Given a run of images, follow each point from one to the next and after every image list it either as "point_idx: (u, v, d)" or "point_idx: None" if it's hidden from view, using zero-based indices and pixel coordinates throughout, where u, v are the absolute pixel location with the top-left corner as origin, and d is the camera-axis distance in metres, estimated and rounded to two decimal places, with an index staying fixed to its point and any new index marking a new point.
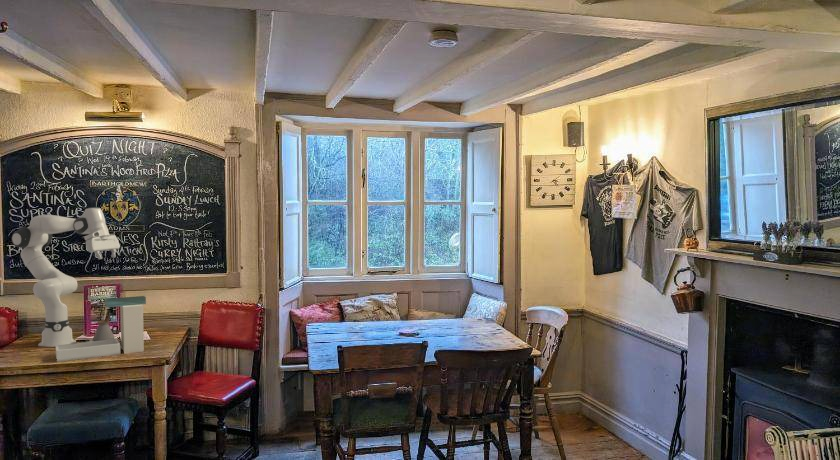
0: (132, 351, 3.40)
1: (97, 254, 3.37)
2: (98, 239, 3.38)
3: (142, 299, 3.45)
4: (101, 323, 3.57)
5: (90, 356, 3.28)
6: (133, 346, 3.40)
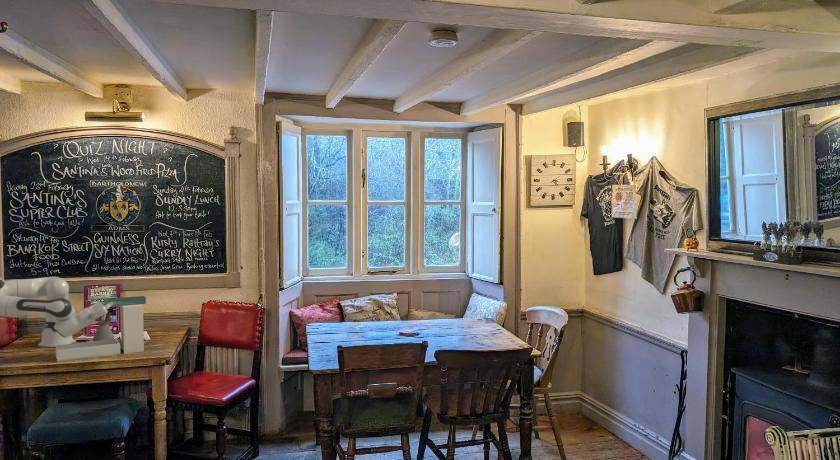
0: (132, 351, 3.40)
1: None
2: None
3: (142, 299, 3.45)
4: (101, 323, 3.58)
5: (90, 356, 3.28)
6: (133, 346, 3.40)
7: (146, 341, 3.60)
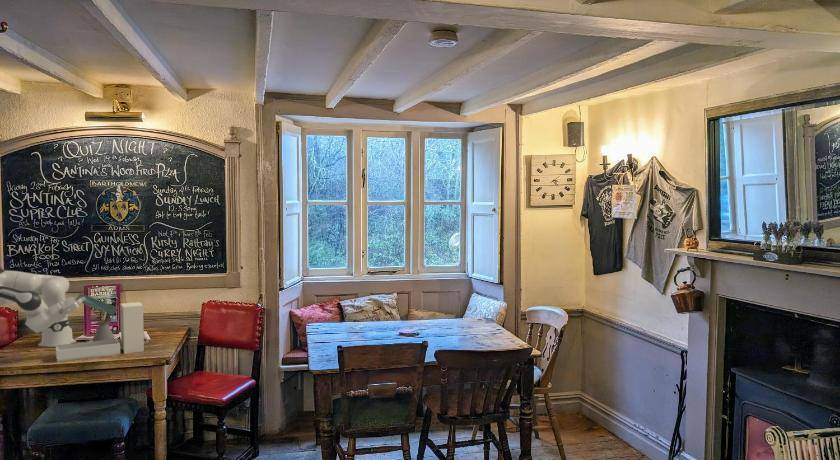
0: (132, 351, 3.40)
1: None
2: None
3: (113, 309, 3.37)
4: (101, 323, 3.58)
5: (90, 356, 3.28)
6: (133, 346, 3.40)
7: (147, 341, 3.60)
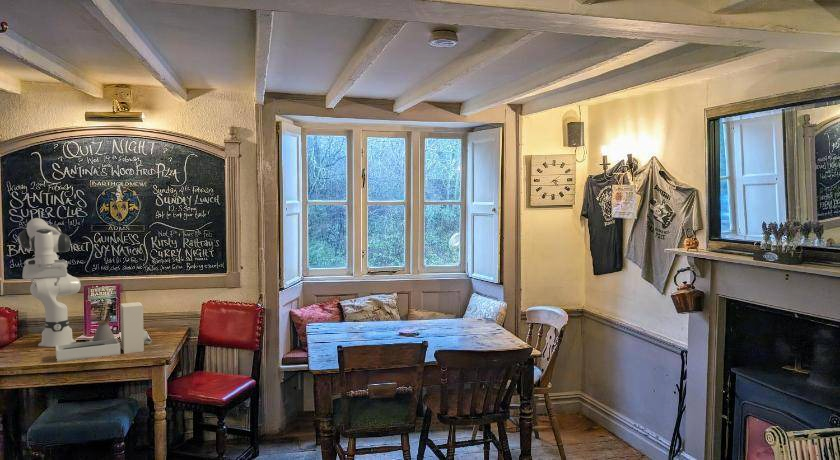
0: (132, 351, 3.40)
1: None
2: (34, 267, 3.17)
3: None
4: (101, 323, 3.58)
5: (90, 356, 3.28)
6: (133, 346, 3.40)
7: (151, 341, 3.60)
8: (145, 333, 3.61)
